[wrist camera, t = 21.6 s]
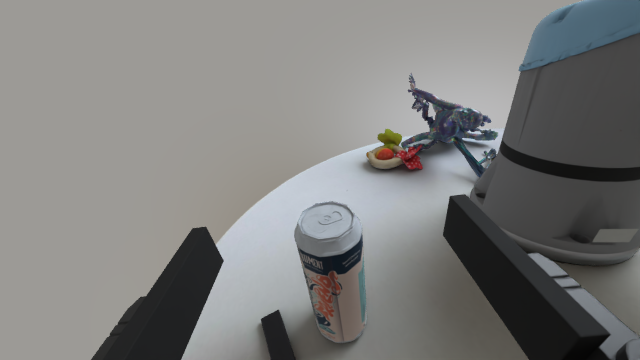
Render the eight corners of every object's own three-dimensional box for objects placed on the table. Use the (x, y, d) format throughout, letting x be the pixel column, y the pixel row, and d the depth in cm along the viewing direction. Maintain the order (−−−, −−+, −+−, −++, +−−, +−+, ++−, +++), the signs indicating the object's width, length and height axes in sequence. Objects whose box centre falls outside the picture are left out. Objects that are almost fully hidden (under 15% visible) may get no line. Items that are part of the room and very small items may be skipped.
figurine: (399, 177, 52) (442, 144, 59) (489, 184, 36) (534, 137, 43) (369, 92, 46) (421, 67, 53) (460, 54, 30) (518, 25, 37)
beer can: (309, 305, 23) (284, 210, 17) (351, 286, 24) (342, 191, 18) (327, 357, 19) (303, 255, 13) (377, 330, 20) (376, 227, 14)
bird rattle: (362, 161, 52) (398, 145, 52) (386, 193, 44) (429, 175, 44) (358, 139, 47) (397, 122, 48) (384, 170, 39) (431, 150, 40)
